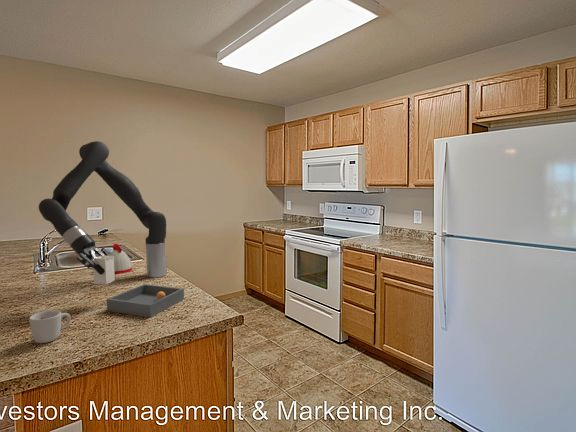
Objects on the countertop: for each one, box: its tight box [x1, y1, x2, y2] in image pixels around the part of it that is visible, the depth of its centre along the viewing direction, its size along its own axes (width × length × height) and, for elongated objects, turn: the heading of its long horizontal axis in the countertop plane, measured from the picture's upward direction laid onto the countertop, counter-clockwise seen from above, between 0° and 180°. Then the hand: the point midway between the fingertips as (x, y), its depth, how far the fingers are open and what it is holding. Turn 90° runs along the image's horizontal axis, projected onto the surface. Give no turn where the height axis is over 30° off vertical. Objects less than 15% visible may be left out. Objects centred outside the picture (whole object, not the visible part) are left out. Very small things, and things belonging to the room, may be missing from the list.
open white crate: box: [92, 256, 116, 285], centre depth 134 cm, size 5×5×10 cm
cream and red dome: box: [109, 243, 133, 275], centre depth 185 cm, size 14×14×15 cm
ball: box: [157, 291, 165, 299], centre depth 137 cm, size 3×3×3 cm
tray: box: [106, 283, 185, 318], centre depth 134 cm, size 20×20×4 cm
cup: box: [28, 309, 72, 344], centre depth 106 cm, size 11×8×8 cm
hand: (108, 271), depth 133 cm, fingers closed on open white crate, 5 cm apart
